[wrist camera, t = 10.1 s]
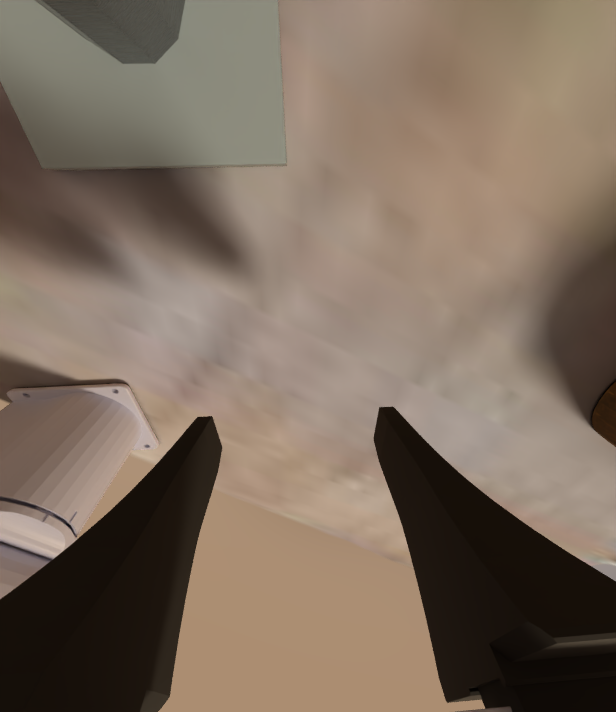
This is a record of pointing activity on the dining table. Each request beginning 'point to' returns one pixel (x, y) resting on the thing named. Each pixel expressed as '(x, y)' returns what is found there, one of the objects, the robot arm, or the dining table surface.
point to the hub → (123, 25)
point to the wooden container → (606, 415)
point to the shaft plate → (149, 91)
